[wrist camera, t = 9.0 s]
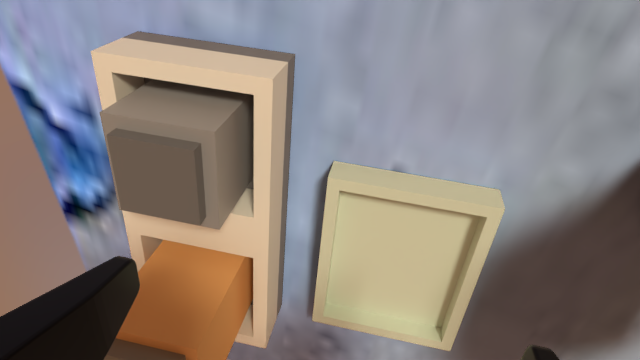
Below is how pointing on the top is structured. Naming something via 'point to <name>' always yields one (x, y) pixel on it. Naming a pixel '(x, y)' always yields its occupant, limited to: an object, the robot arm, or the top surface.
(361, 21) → the top surface
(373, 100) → the top surface
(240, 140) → the cream slotted rack
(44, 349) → the robot arm
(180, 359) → the plug
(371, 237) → the tray
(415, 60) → the top surface
